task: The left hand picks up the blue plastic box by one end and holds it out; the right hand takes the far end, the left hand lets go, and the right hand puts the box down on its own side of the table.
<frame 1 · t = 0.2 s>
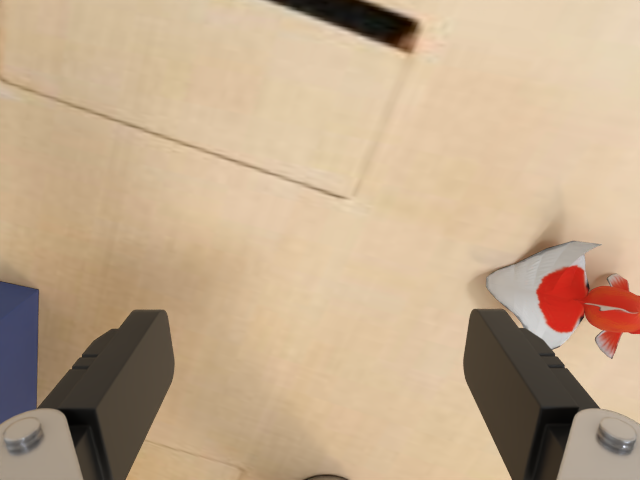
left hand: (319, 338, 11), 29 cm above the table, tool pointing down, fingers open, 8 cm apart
fish: (553, 283, 43), on the table
box: (8, 363, 47), on the table
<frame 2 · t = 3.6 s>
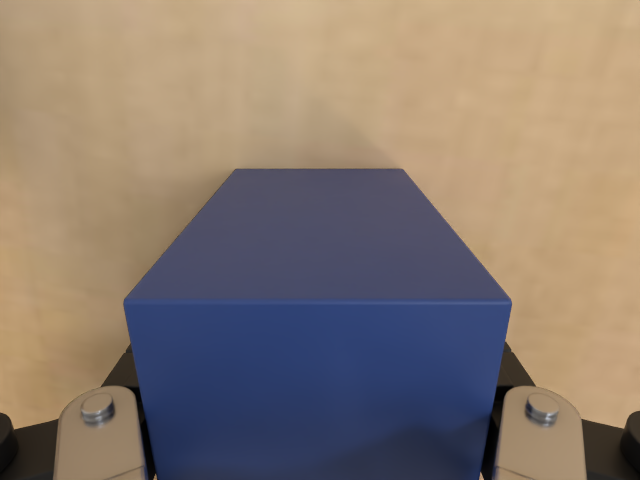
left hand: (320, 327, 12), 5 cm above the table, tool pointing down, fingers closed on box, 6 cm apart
box: (319, 395, 19), on the table, touching left hand
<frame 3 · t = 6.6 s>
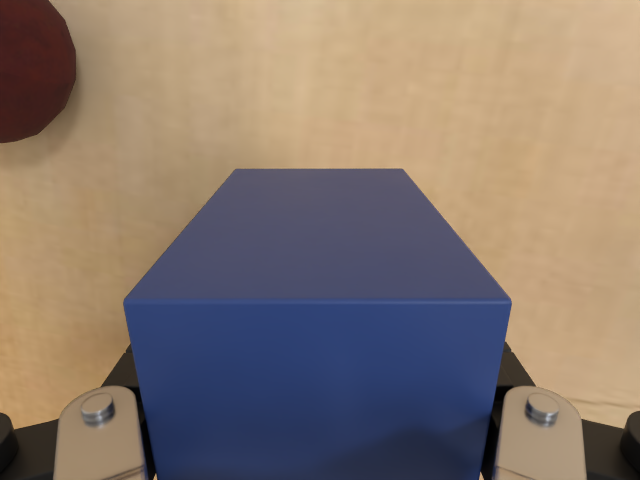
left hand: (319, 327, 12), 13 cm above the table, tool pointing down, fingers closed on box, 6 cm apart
potato: (29, 57, 22), on the table
box: (319, 395, 19), point 8 cm above the table, touching left hand
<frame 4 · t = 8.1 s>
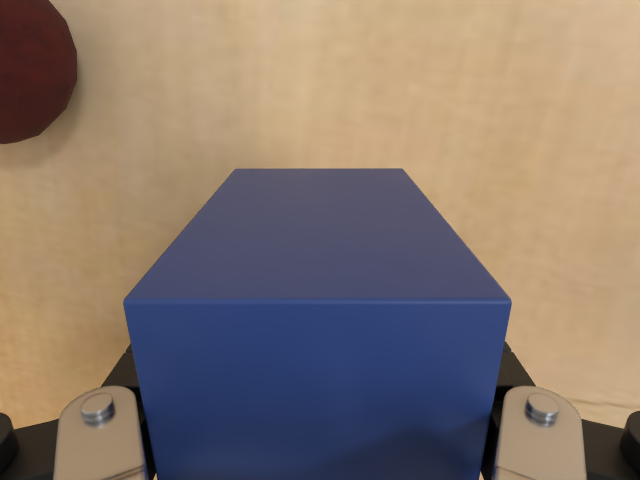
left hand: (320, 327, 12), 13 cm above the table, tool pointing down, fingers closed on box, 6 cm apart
potato: (30, 57, 22), on the table
box: (319, 395, 19), point 8 cm above the table, touching left hand, right hand
when the left hand's fingers open (13 cm above the table, at t = 9.4 s): box moves 2 cm, held by the right hand.
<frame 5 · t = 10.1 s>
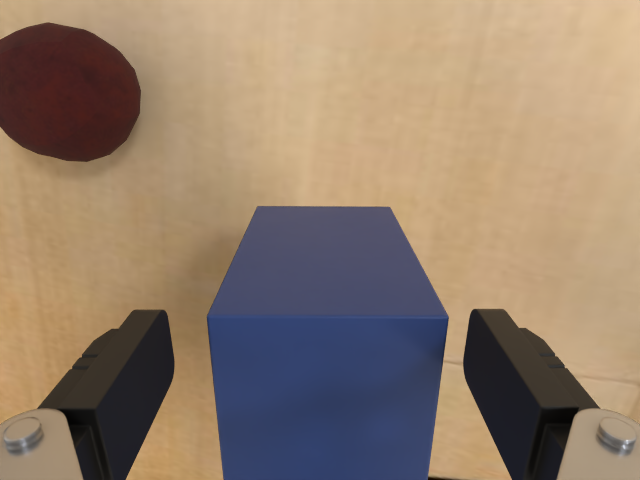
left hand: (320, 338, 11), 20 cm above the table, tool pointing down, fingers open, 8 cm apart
potato: (99, 92, 28), on the table
box: (322, 388, 23), point 11 cm above the table, touching right hand
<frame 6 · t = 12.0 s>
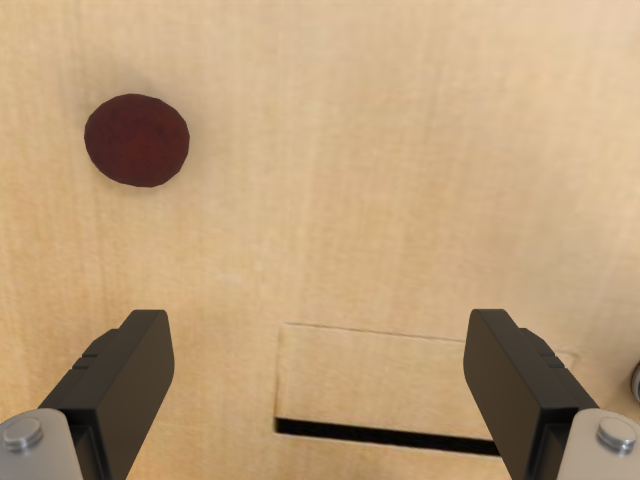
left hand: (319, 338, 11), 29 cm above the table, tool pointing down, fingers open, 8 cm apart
potato: (156, 135, 38), on the table
when the right hand's fingers open (6 cm above the table, at t = 15.8 s): box stays where it is, on the table.
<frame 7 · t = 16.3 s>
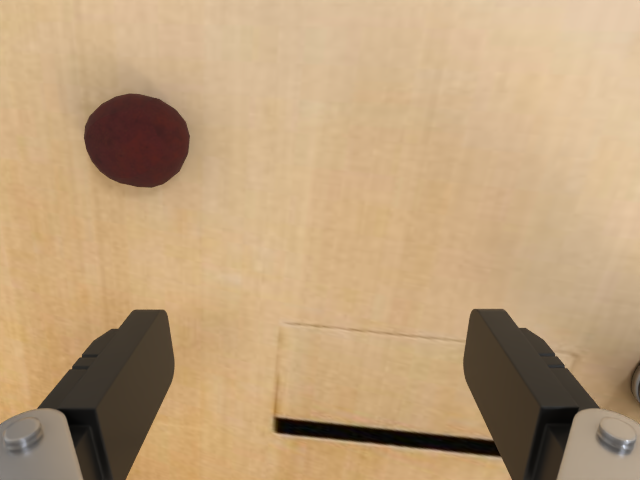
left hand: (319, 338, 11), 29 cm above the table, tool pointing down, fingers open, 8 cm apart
potato: (156, 135, 38), on the table
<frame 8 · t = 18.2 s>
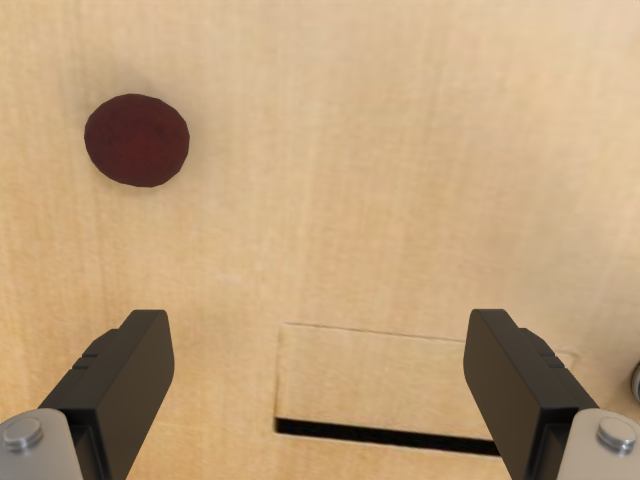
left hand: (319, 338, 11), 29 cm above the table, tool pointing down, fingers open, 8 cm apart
potato: (156, 135, 38), on the table
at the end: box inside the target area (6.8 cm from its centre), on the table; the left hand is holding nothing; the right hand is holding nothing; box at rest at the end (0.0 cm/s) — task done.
